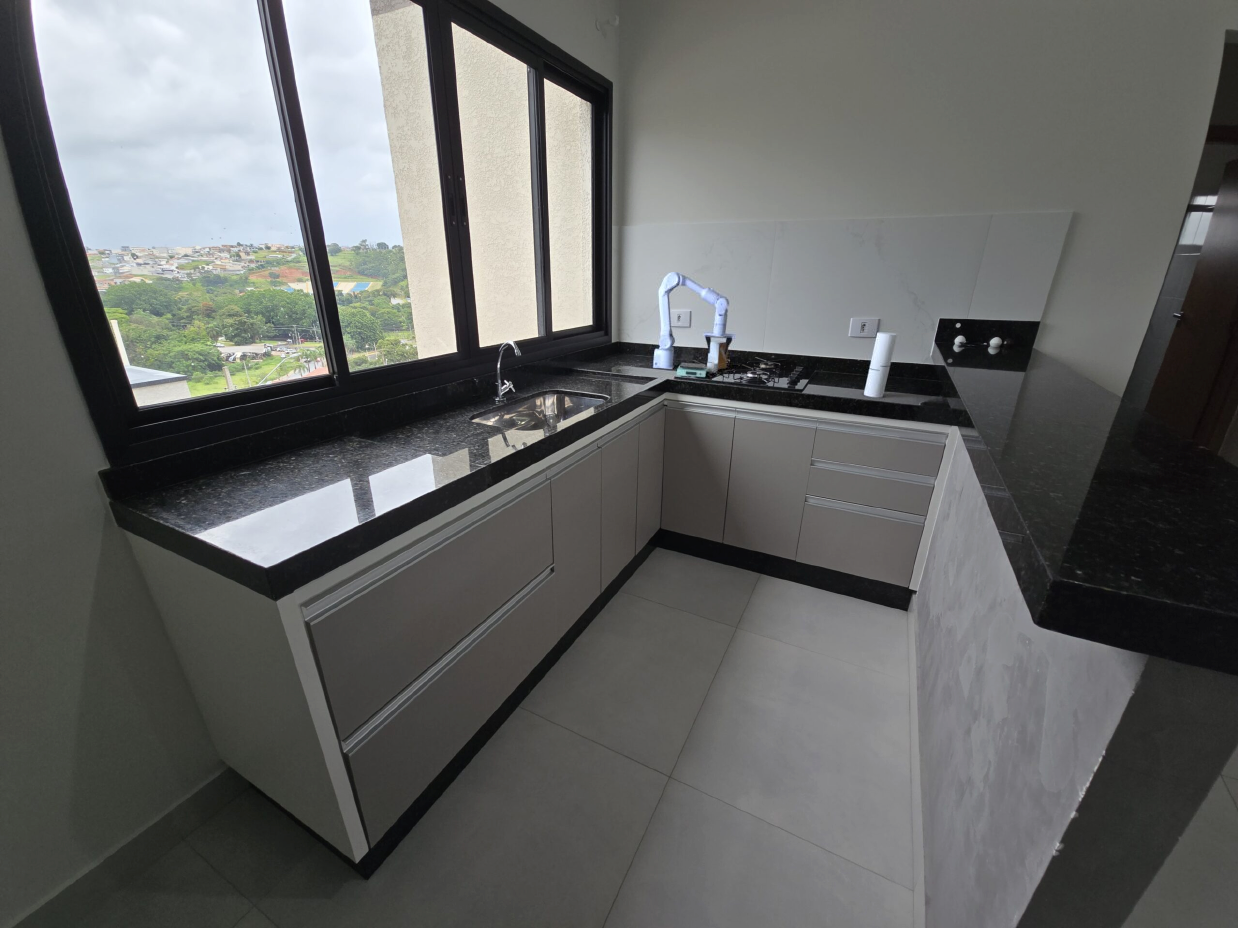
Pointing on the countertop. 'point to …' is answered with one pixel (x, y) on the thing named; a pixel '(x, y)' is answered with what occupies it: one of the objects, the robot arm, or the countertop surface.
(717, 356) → the small box
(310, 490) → the countertop surface
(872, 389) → the cylindrical container
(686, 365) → the scale pan
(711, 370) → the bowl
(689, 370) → the scale
